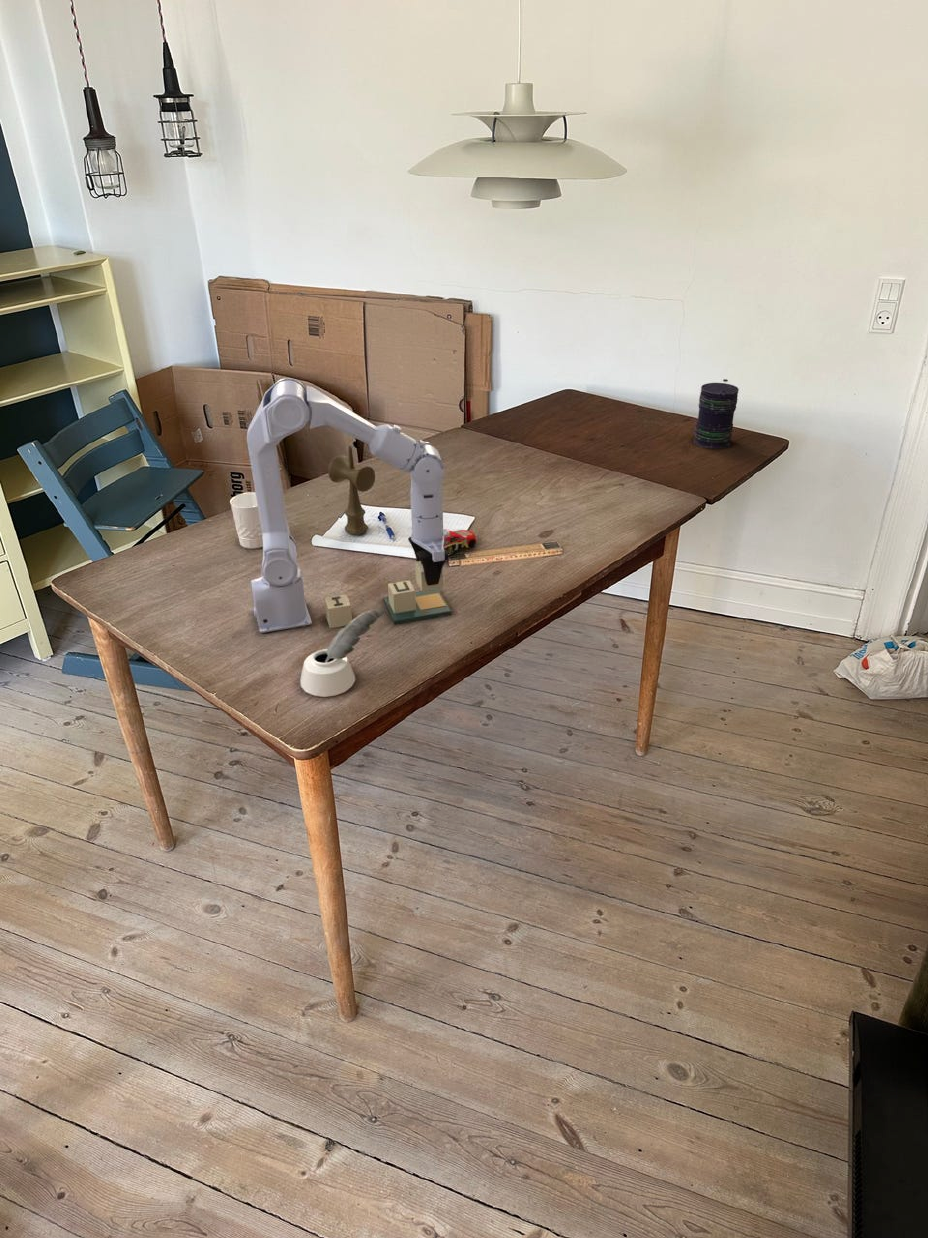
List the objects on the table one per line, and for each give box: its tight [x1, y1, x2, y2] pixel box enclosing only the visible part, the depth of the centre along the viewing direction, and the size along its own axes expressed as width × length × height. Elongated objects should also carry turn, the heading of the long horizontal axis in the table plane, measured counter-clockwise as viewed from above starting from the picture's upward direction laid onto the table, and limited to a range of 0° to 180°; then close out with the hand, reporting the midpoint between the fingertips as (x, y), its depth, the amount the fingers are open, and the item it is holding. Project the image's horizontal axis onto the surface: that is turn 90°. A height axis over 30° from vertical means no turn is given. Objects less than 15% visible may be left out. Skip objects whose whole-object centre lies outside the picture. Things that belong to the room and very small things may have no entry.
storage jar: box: [693, 378, 740, 449], centre depth 237 cm, size 10×10×18 cm
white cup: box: [229, 491, 263, 549], centre depth 190 cm, size 8×8×10 cm
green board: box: [382, 589, 452, 625], centre depth 168 cm, size 11×9×1 cm
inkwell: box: [299, 608, 389, 698], centre depth 148 cm, size 9×18×10 cm, turn 135°
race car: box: [443, 529, 477, 555], centre depth 188 cm, size 13×5×4 cm, turn 127°
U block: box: [387, 580, 416, 614], centre depth 166 cm, size 4×4×4 cm
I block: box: [323, 594, 353, 629], centre depth 163 cm, size 4×4×4 cm
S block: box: [414, 560, 444, 591], centre depth 165 cm, size 4×4×4 cm
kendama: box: [327, 445, 376, 536], centre depth 191 cm, size 6×10×20 cm, turn 47°
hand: (429, 578), depth 166 cm, fingers closed on S block, 4 cm apart
